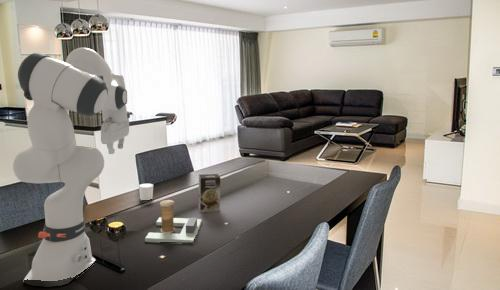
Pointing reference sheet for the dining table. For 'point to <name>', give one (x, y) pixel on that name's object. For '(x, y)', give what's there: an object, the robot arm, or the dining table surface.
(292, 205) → the dining table surface
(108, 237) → the dining table surface
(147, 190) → the shot glass
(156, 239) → the notched board
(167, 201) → the bobbin
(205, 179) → the coffee box
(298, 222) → the dining table surface
